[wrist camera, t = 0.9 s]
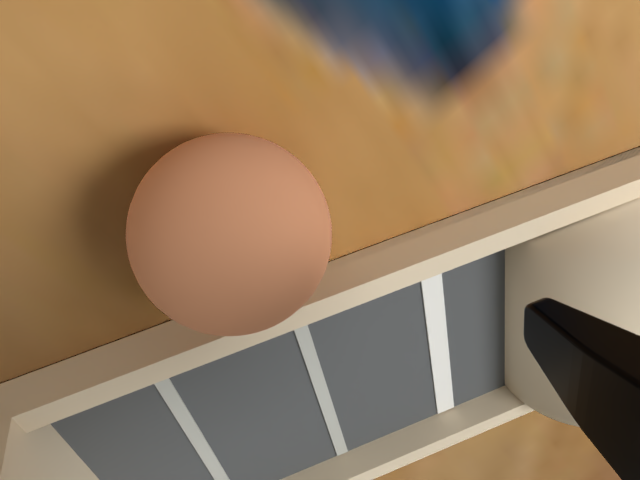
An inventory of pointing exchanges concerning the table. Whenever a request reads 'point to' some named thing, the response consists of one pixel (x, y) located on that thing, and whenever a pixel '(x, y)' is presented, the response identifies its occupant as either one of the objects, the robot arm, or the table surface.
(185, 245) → the ball
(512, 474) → the table surface
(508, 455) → the table surface
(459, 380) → the lane
